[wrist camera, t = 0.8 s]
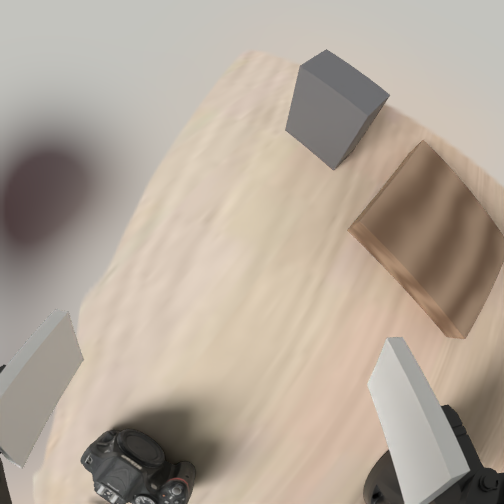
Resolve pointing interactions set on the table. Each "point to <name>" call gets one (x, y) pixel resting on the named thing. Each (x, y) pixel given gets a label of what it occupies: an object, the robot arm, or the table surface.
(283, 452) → the table surface
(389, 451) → the robot arm
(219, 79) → the table surface
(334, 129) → the tall slate rectangular prism
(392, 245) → the display block
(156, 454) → the camera
